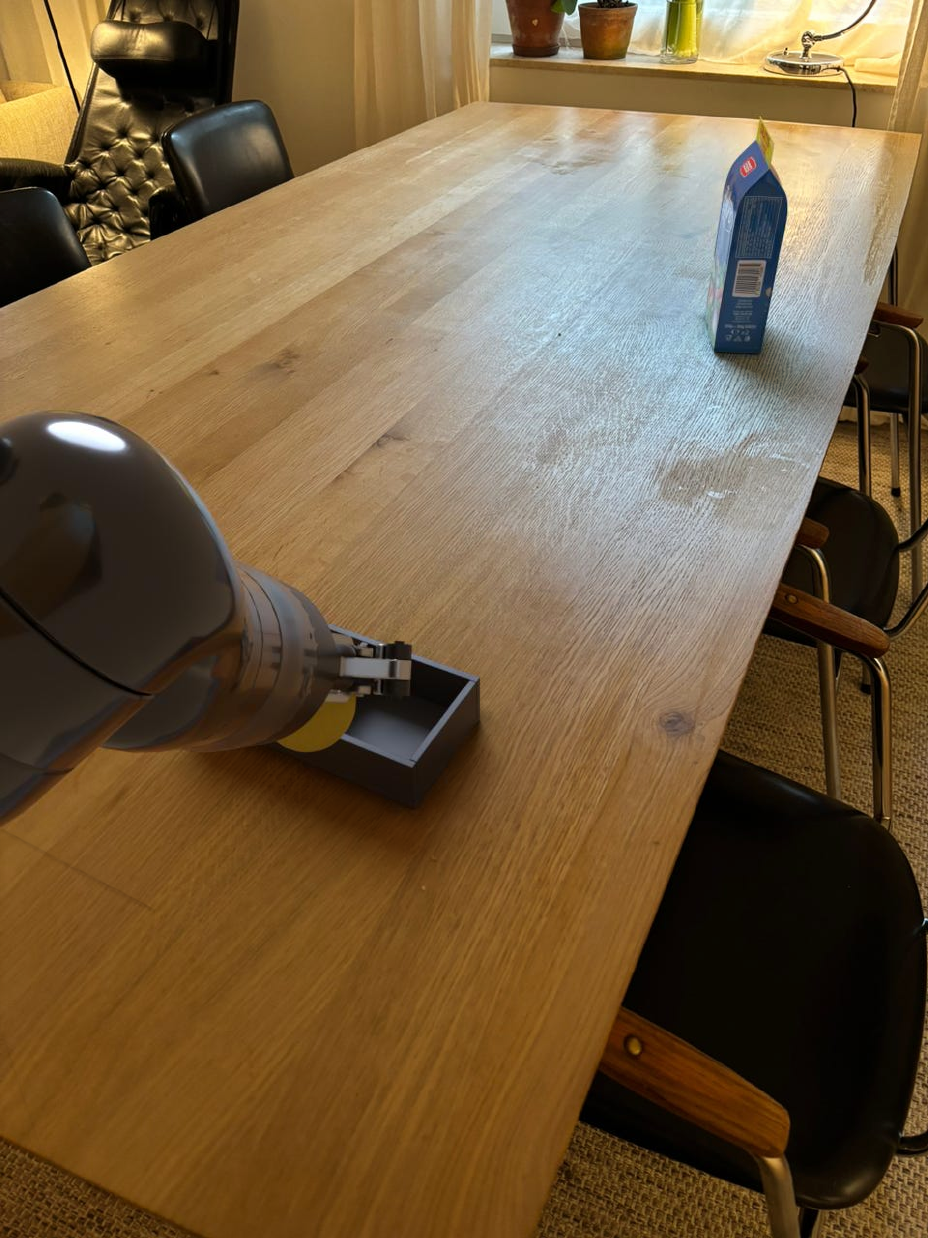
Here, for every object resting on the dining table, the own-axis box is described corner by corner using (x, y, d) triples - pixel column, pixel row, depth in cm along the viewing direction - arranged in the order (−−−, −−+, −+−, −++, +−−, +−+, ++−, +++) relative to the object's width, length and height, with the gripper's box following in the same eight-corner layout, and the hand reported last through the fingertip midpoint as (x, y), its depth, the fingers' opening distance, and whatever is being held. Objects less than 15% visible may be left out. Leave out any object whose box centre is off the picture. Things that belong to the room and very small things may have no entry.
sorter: (415, 810, 71) (412, 768, 68) (199, 718, 79) (188, 676, 76) (480, 718, 78) (480, 677, 75) (276, 642, 85) (268, 601, 82)
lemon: (378, 753, 57) (369, 650, 52) (291, 795, 55) (273, 692, 50) (332, 697, 61) (320, 596, 56) (249, 734, 59) (228, 632, 53)
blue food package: (749, 315, 136) (786, 116, 119) (761, 354, 126) (803, 144, 110) (703, 314, 136) (733, 115, 120) (711, 352, 127) (745, 143, 111)
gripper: (406, 571, 40) (440, 611, 57) (57, 555, 41) (193, 599, 57) (395, 760, 39) (433, 743, 56) (41, 740, 40) (183, 729, 57)
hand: (311, 670), depth 57 cm, fingers closed on lemon, 5 cm apart
